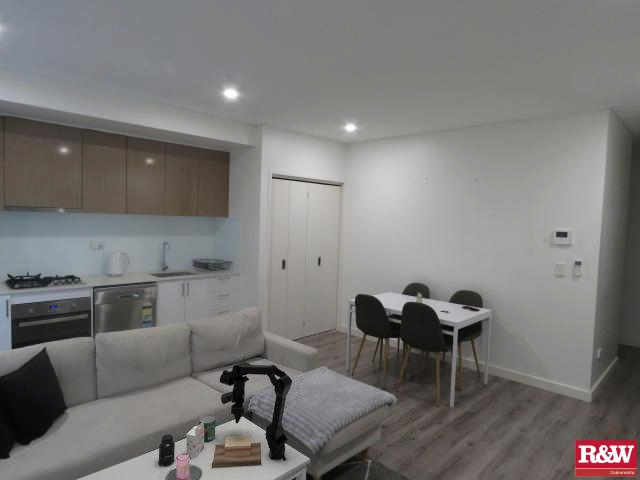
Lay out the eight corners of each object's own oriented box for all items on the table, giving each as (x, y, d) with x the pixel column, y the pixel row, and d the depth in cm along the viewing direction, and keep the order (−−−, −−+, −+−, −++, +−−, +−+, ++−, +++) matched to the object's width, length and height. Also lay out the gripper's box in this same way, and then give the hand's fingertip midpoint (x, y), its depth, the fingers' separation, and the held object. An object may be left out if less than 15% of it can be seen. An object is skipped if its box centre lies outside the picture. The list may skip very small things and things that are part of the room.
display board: (215, 446, 201) (215, 440, 201) (260, 444, 205) (260, 438, 205) (211, 470, 182) (211, 463, 182) (261, 467, 186) (261, 460, 186)
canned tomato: (195, 443, 204) (196, 421, 204) (203, 435, 212) (204, 414, 211) (210, 445, 202) (210, 423, 202) (217, 437, 210) (218, 416, 209)
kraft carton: (225, 446, 200) (226, 436, 200) (250, 445, 202) (251, 435, 202) (224, 457, 191) (224, 446, 191) (250, 455, 193) (250, 445, 193)
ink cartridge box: (194, 448, 199) (195, 419, 198) (204, 450, 198) (204, 420, 197) (185, 458, 191) (186, 427, 190) (195, 460, 190) (196, 429, 189)
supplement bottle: (167, 468, 183) (167, 442, 182) (155, 464, 185) (155, 438, 185) (177, 460, 189) (178, 434, 189) (165, 456, 192) (166, 431, 191)
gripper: (223, 380, 210) (221, 409, 211) (221, 396, 192) (219, 428, 193) (245, 380, 212) (243, 409, 213) (245, 396, 194) (243, 428, 195)
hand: (237, 418), depth 204 cm, fingers open, 9 cm apart
